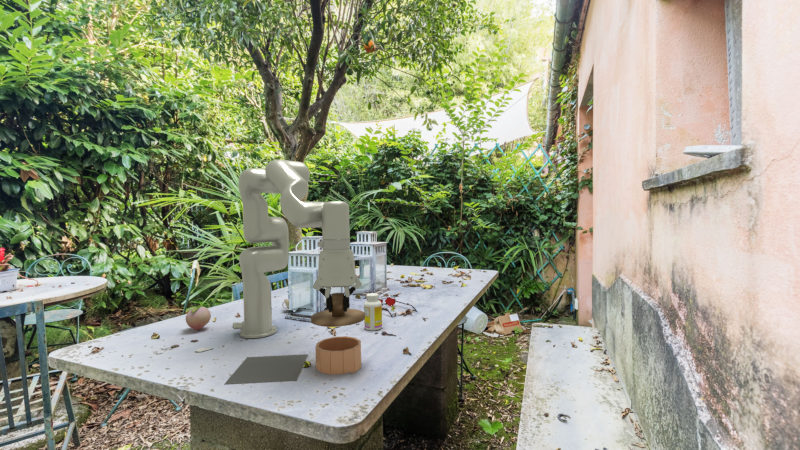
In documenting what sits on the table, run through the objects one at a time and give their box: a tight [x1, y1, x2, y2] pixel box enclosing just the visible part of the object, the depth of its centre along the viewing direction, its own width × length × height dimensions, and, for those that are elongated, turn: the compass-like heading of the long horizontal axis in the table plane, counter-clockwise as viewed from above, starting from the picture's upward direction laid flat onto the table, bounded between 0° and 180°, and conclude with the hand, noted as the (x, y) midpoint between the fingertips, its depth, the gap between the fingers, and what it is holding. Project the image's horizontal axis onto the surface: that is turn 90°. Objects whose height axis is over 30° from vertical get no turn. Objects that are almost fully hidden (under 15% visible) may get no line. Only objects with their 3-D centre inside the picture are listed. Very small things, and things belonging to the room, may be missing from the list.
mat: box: [223, 353, 309, 386], centre depth 103 cm, size 18×18×1 cm
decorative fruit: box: [185, 303, 212, 331], centre depth 141 cm, size 9×8×10 cm
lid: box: [310, 292, 365, 328], centre depth 104 cm, size 15×15×7 cm
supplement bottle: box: [363, 292, 383, 332], centre depth 139 cm, size 7×7×13 cm
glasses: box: [378, 296, 418, 318], centre depth 164 cm, size 14×16×5 cm
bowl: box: [314, 335, 362, 375], centre depth 105 cm, size 12×12×6 cm
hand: (338, 310), depth 104 cm, fingers closed on lid, 3 cm apart
